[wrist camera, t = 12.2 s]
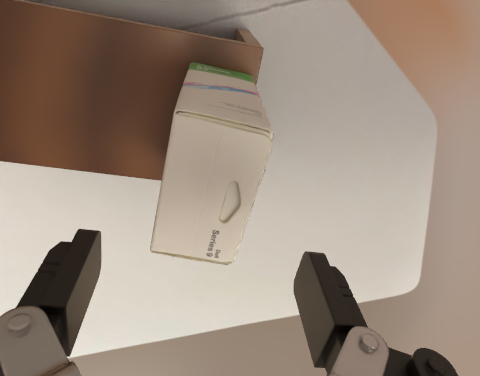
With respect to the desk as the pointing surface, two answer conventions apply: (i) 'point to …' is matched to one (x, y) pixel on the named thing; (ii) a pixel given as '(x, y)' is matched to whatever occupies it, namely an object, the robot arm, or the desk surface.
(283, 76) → the desk surface
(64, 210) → the desk surface
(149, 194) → the desk surface
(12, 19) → the shelf
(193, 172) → the ink box
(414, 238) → the desk surface
